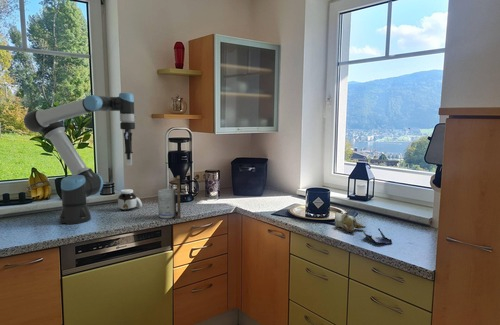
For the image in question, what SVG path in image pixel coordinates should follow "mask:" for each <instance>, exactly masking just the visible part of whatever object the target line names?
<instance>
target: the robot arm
mask: <svg viewBox="0 0 500 325" xmlns="http://www.w3.org/2000/svg"><path fill="white" fill-rule="evenodd" d="M98 111H101V112H115V111H116V112H119V121H120V124H119V126H120V129H121V130H124V132H123V138H124V150H125V152H124V154H125V162H126V164H125V165H126V166H132V165H133V158H132V157H133V156H132V154H133V153H134V152H133V148H132V145H133V143H132V140H133V132H132V130H135V129H136V123H135V120H136V119H135V118H136V115H135V97H134V93H131V92H119V94H118V96H104V95H95V94H91V95H90V94H89V95H87V96H86V97H85V98H81V99H77V100H74V101H71V102H68V103H63V104H61V105H57V106H54V107H51V108H46V109H43V108H39V109H36V110H30V111H29V112H27V113H26V114H25V115H24V116H23V123H24V124H23V125H24V126H25V128H26V129H28V130H29V131H30V132H32V133H41V134H42V135H43V138H45V139H47V140H49V141H50V142H51V143H52V145H53V147H54V148H55V150H56V152H57V153H58V155H59V157H60V158H61V160H62V161H63V162H64V164H65V165H66V167H67V169H68V171H69V172H70V173H71V175H68V176H65V177H64V178H62V179H61V181H60V190H61V206H62V208H61V212H60V215H59V223H60V222H61V223H60V224H62V223H66V224H65V225H74V223H77V224H81V223H86V222H89V221H90V220H91V219H92V215H91V212H90V210H89V207H88V205H87V204H88V203H87V197H91V196H94V195H97V194H98V193H99V192H101V191H102V189H103V187H104V180H103V178H102V177H103V176H101V175H100V174H99V173H95V171H94V170H93V169H92V168H91V167H87V165H86V163H85V162H84V160H83V159H82V157H81V155H80V154H79V153H78V151H77V150H76V147H75V146H74V144H72V142H71V140H70V139H69V137H68V136H67V134H66V132H65V131H66V127H65V121H66V120H68V119H72V118H76V117H79V116H82V115H86V114H90V113H91V114H92V113H93V112H94V113H95V112H98Z"/></svg>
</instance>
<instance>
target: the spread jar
mask: <svg viewBox="0 0 500 325" xmlns="http://www.w3.org/2000/svg"><path fill="white" fill-rule="evenodd" d="M117 205H118V209H119V210H121V211H123V212H128V211H134V210H135V209H136V207H137V208H138V209H140V208H142V207H143V203H142V200H141V199H140V197H137V196H136V194H135V193H134V190H133V189H131V188H127V189H121V190H120V194H119V195H118V197H117Z"/></svg>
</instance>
